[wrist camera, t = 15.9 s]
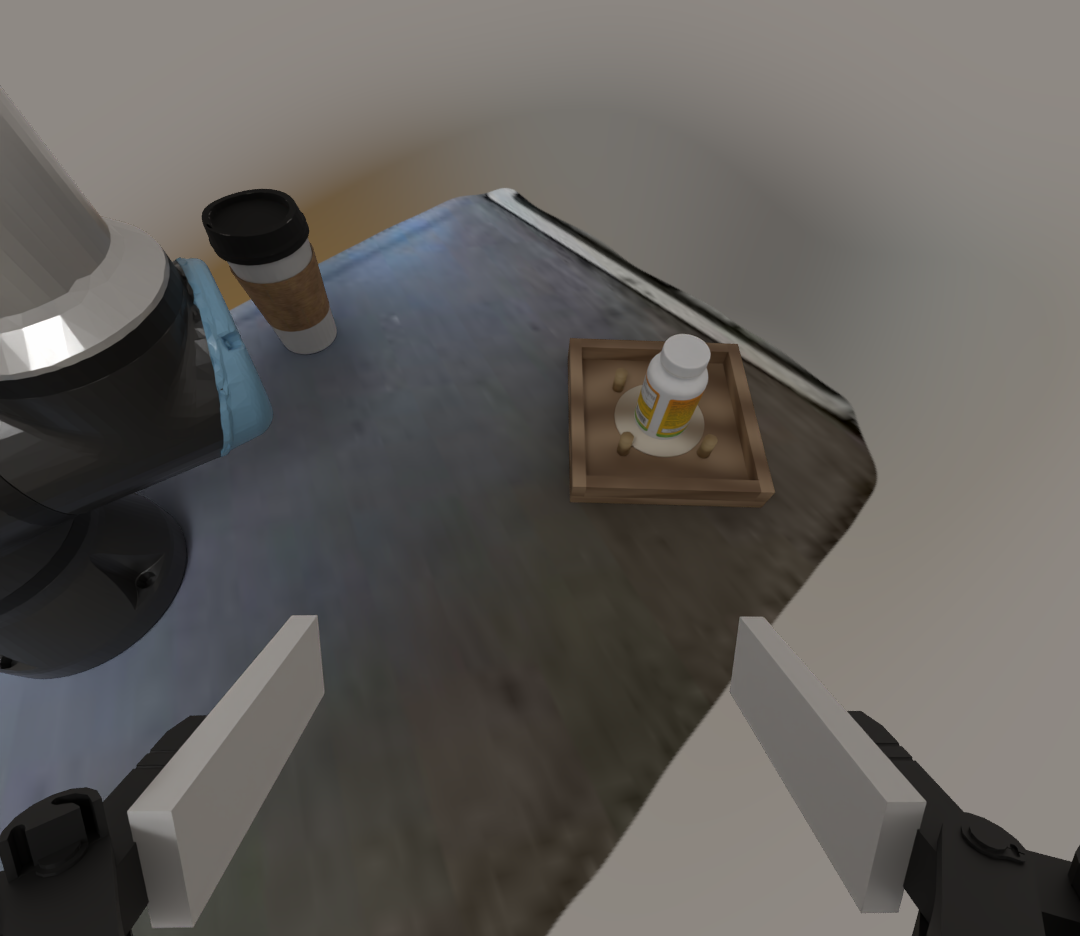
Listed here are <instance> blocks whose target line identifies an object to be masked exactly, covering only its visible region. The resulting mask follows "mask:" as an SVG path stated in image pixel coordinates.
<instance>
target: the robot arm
mask: <svg viewBox="0 0 1080 936" xmlns="http://www.w3.org/2000/svg"><path fill="white" fill-rule="evenodd" d="M272 418H273V410H272V406H271V403H270V401H269V398H268V396H267V394H266V391H265V389H264V387H263V384H262V382H261V380H260V378H259V375H258V373H257V371H256V369H255V367H254V364H253V362H252V360H251V358H250V356H249V354H248V351H247V349H246V347H245V345H244V343H243V342H242V339H241V337H240V334H239V332H238V330H237V328H236V326H235V324H234V321H233V318H232V316H231V314H230V312H229V310H228V308H227V306H226V303H225V301H224V299H223V297H222V295H221V293H220V291H219V288H218V286H217V284H216V282H215V280H214V278H213V276H212V274H211V272H210V270H209V268H208V266H207V265H206V264H205V262H203V261H202V260H200V259H196V258H190V259H185V258H178V259H176V260H175V261H173V262H172V261H171V260H170V259H169V257H168V256H167V254H166V253H165V251H164V250H163V249H162V247H161V246H160V244H159V243H158V242H157V241H155V239H154V238H153V237H151V235H149V234H148V233H147V232H146V231H144V230H142V229H140V228H138V227H136V226H134V225H131V224H128V223H125V222H122V221H118V220H114V219H110V218H106V217H103V216H100V215H99V214H98V212H97V211H96V210H95V208H94V207H93V206H92V205H91V203H90V202H89V201H88V199H87V198H86V197H85V195H84V194H83V193H82V192H81V190H80V189H79V188H78V186H77V185H76V184H75V182H74V181H73V180H72V178H71V177H70V176H69V174H68V173H67V172H66V171H65V169H64V168H63V167H62V165H61V164H60V163H59V161H58V160H57V159H56V158H55V156H54V155H53V154H52V152H51V151H50V150H49V149H48V147H47V146H46V144H45V143H44V142H43V141H42V139H41V138H40V137H39V135H38V134H37V133H36V131H35V130H34V129H33V128H32V127H31V125H30V124H29V122H28V121H27V120H26V118H25V117H24V116H23V115H22V113H21V112H20V111H19V110H18V108H17V107H16V105H15V104H14V103H13V101H12V100H11V99H10V98H9V96H8V95H7V94H6V92H5V91H4V90H3V88H2V87H1V86H0V672H1V673H6V674H11V675H16V676H21V677H27V678H34V679H52V678H60V677H65V676H70V675H74V674H77V673H80V672H83V671H86V670H89V669H91V668H94V667H96V666H98V665H100V664H102V663H104V662H106V661H108V660H110V659H112V658H113V657H115V656H117V655H118V654H120V653H121V652H123V651H124V650H126V649H127V648H128V647H130V646H131V645H132V644H134V643H135V642H136V641H137V640H139V639H140V638H141V637H142V636H143V635H144V634H145V633H146V632H147V631H148V630H149V629H150V628H151V627H152V626H153V625H154V624H155V623H156V622H157V621H158V619H159V618H160V617H161V616H162V614H163V613H164V612H165V610H166V609H167V608H168V606H169V604H170V603H171V601H172V600H173V598H174V596H175V594H176V592H177V590H178V588H179V585H180V583H181V580H182V577H183V574H184V570H185V565H186V543H185V538H184V535H183V532H182V530H181V528H180V526H179V525H178V523H177V522H176V520H175V519H174V518H173V517H172V516H171V515H170V514H169V513H167V512H166V511H165V510H163V509H162V508H160V507H159V506H158V505H156V504H155V503H153V502H152V501H150V500H149V499H147V498H145V497H143V496H140V495H138V494H136V493H135V492H137V491H139V490H142V489H144V488H147V487H149V486H151V485H154V484H156V483H158V482H161V481H163V480H166V479H168V478H170V477H173V476H175V475H177V474H180V473H182V472H185V471H187V470H189V469H192V468H194V467H197V466H199V465H201V464H204V463H206V462H208V461H211V460H213V459H216V458H218V457H223V456H225V455H227V454H228V453H229V452H230V450H232V449H234V448H236V447H238V446H240V445H242V444H244V443H246V442H248V441H250V440H252V439H253V438H255V437H257V436H259V435H261V434H263V433H264V432H265V431H266V430H267V428H268V427H269V426H270V424H271V422H272ZM324 693H325V692H324V681H323V670H322V660H321V649H320V638H319V627H318V616H317V615H292V616H291V617H290V618H289V619H288V621H287V622H286V623H285V624H284V625H283V627H282V628H281V629H280V630H279V631H278V633H277V634H276V635H275V636H274V637H273V638H272V640H271V641H270V642H269V643H268V644H267V646H266V647H265V648H264V649H263V650H262V652H261V653H260V654H259V655H258V656H257V657H256V659H255V660H254V661H253V662H252V663H251V665H250V666H249V667H248V668H247V669H246V671H245V672H244V673H243V674H242V675H241V677H240V678H239V679H238V680H237V681H236V682H235V684H234V685H233V686H232V687H231V688H230V690H229V691H228V692H227V693H226V694H225V696H224V697H223V698H222V699H221V700H220V701H219V703H218V704H217V705H216V706H215V707H214V709H213V710H212V711H211V712H210V713H209V715H208V716H189V717H188V718H186V719H185V720H183V721H182V722H180V723H179V724H177V725H176V726H175V727H173V728H172V729H170V730H169V731H167V732H166V733H165V735H164V736H163V737H162V738H161V739H160V740H159V741H158V742H157V743H156V744H155V746H154V747H153V748H152V749H151V751H150V753H149V754H146V755H145V757H144V758H143V759H142V760H141V761H140V762H139V763H138V764H137V767H136V769H133V770H132V771H131V772H130V773H129V774H128V775H127V776H126V777H125V778H124V780H123V781H122V782H121V783H120V784H119V785H118V786H117V787H116V788H115V789H114V791H113V792H112V793H111V794H110V795H109V796H108V797H107V798H106V799H105V800H104V802H102V798H101V796H100V795H99V793H98V791H97V790H93V789H90V788H87V787H86V788H76V789H69V790H66V791H63V792H60V793H57V794H54V795H51V796H49V797H47V798H45V799H43V800H41V801H39V802H37V803H36V804H34V805H32V806H31V807H29V808H28V809H26V810H25V811H24V812H22V813H21V814H19V815H18V816H17V817H15V818H14V819H13V820H12V822H11V823H10V824H9V825H8V826H7V827H6V828H5V829H4V830H3V831H2V833H1V835H0V857H1V861H2V864H3V867H4V871H1V872H0V936H133V934H132V930H131V928H132V927H133V925H134V924H135V922H136V921H137V919H138V918H139V916H140V915H141V913H142V912H143V910H144V909H145V907H146V906H147V907H148V912H149V916H150V921H151V926H152V928H178V927H194V925H195V923H196V921H197V920H198V918H199V916H200V914H201V912H202V911H203V909H204V907H205V905H206V904H207V902H208V900H209V898H210V896H211V895H212V893H213V891H214V889H215V888H216V886H217V884H218V882H219V880H220V879H221V877H222V875H223V873H224V872H225V870H226V868H227V866H228V864H229V863H230V861H231V859H232V857H233V855H234V854H235V852H236V850H237V848H238V847H239V845H240V843H241V841H242V839H243V838H244V836H245V834H246V832H247V831H248V829H249V827H250V825H251V823H252V822H253V820H254V818H255V816H256V815H257V813H258V811H259V809H260V807H261V806H262V804H263V802H264V800H265V799H266V797H267V795H268V793H269V791H270V790H271V788H272V786H273V784H274V782H275V781H276V779H277V777H278V775H279V774H280V772H281V770H282V768H283V766H284V765H285V763H286V761H287V759H288V758H289V756H290V754H291V752H292V750H293V749H294V747H295V745H296V743H297V742H298V740H299V738H300V736H301V734H302V733H303V731H304V729H305V727H306V725H307V724H308V722H309V720H310V718H311V717H312V715H313V713H314V711H315V709H316V708H317V706H318V704H319V702H320V701H321V699H322V697H323V695H324ZM730 693H731V695H732V696H733V698H734V700H735V702H736V703H737V705H738V706H739V708H740V710H741V711H742V713H743V715H744V717H745V718H746V720H747V722H748V723H749V725H750V727H751V729H752V730H753V732H754V733H755V735H756V737H757V738H758V740H759V742H760V744H761V745H762V747H763V749H764V750H765V752H766V754H767V755H768V757H769V759H770V760H771V762H772V764H773V765H774V767H775V769H776V771H777V772H778V774H779V776H780V777H781V779H782V781H783V782H784V784H785V786H786V787H787V789H788V791H789V792H790V794H791V796H792V797H793V799H794V800H795V802H796V804H797V806H798V808H799V809H800V811H801V812H802V814H803V816H804V818H805V819H806V821H807V823H808V824H809V826H810V827H811V829H812V831H813V833H814V834H815V836H816V838H817V839H818V841H819V843H820V845H821V846H822V848H823V850H824V851H825V853H826V854H827V856H828V858H829V860H830V861H831V863H832V865H833V866H834V868H835V870H836V871H837V873H838V875H839V876H840V878H841V880H842V881H843V883H844V885H845V886H846V888H847V890H848V892H849V893H850V895H851V897H852V898H853V900H854V902H855V903H856V905H857V907H858V908H859V910H860V911H861V913H892V912H898V911H899V907H900V903H901V900H902V896H903V891H904V889H905V890H906V891H907V893H908V894H909V896H910V897H911V899H912V900H913V902H914V903H915V904H916V906H917V907H918V909H919V912H918V916H917V920H916V923H915V927H914V931H913V934H912V936H1080V846H1079V847H1078V849H1077V851H1076V852H1075V855H1074V858H1073V861H1072V862H1070V861H1066V860H1062V859H1058V858H1055V857H1051V856H1047V855H1043V854H1039V853H1035V852H1032V851H1028V850H1026V849H1025V848H1024V847H1023V846H1022V845H1021V844H1020V843H1019V841H1018V840H1017V839H1015V838H1014V837H1013V836H1012V835H1010V834H1009V833H1008V832H1006V831H1005V830H1004V829H1003V828H1001V827H999V826H998V825H996V824H994V823H992V822H990V821H989V820H987V819H985V818H982V817H979V816H976V815H973V814H971V813H966V812H963V811H962V810H961V809H960V808H959V806H957V804H956V803H955V802H954V801H953V800H952V799H951V798H950V797H949V796H948V795H947V794H946V793H945V792H944V791H943V790H942V788H940V786H939V785H938V784H937V783H936V782H935V781H934V780H933V779H932V778H931V777H930V776H929V775H928V774H927V772H926V771H925V770H924V769H923V768H922V767H921V766H920V765H919V764H918V763H917V762H916V761H913V760H912V756H911V755H910V754H908V752H907V751H906V750H905V749H904V748H903V747H902V746H899V743H898V742H897V741H896V739H895V738H893V736H892V735H891V734H890V733H889V732H888V731H887V730H886V729H885V728H884V727H883V726H882V725H881V724H879V723H878V722H876V721H875V720H873V719H872V718H870V717H869V716H867V715H866V714H864V713H863V712H862V711H846V710H845V709H844V708H843V706H842V705H841V704H840V703H839V702H838V701H837V700H836V698H835V697H834V696H833V695H832V694H831V693H830V692H829V690H828V689H827V688H826V687H825V686H824V685H823V684H822V683H821V682H820V680H819V679H818V678H817V677H816V676H815V675H814V673H813V672H812V671H811V670H810V669H809V668H808V667H807V666H806V664H805V663H804V662H803V661H802V660H801V659H800V658H799V656H798V655H797V654H796V653H795V652H794V651H793V650H792V649H791V647H790V646H789V645H788V644H787V643H786V642H785V641H784V639H783V638H782V637H781V636H780V635H779V634H778V633H777V632H776V630H775V629H774V628H773V627H772V626H771V625H770V624H769V622H768V621H767V620H766V619H765V618H764V617H740V619H739V627H738V634H737V642H736V649H735V657H734V664H733V672H732V679H731V687H730Z"/></svg>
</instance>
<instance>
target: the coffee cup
mask: <svg viewBox="0 0 1080 936" xmlns="http://www.w3.org/2000/svg"><path fill="white" fill-rule="evenodd" d="M202 222H203V225H204V227H205V229H206V232H207V234H208V237H209V241H210V244H211V246H212V247H213V249H214V251H215V252H216V254H217V255H218V256H219V257H220V258H222V259H223V260H225V261H227V262H228V264H229V265H230V269H231V272H232V273H233V275H234V276H235V277H236V279H237V280H238V281H239V283H240V284H241V286H242V287H243V288H244V290H245V291H246V293H247V294H248V295H249V297H250V298H251V299H252V301H253V302H254V304H255V305H256V306H257V308H258V309H259V310H260V312H261V313H262V315H263V316H264V317H265V319H266V320H267V321H268V323H269V324H270V325H271V327H272V328H273V329H274V331H275V332H276V334H277V335H278V337H279V338H280V340H281V341H282V343H283V344H284V345H285V346H286V348H287V349H289V350H290V351H292V352H294V353H298V354H312V353H316V352H319V351H321V350H323V349H325V348H327V347H328V346H329V345H330V344H331V343H332V342H333V341H334V339H335V337H336V334H337V329H336V325H335V322H334V318H333V315H332V312H331V309H330V306H329V301H328V298H327V294H326V291H325V287H324V284H323V280H322V277H321V273H320V270H319V267H318V263H317V260H316V256H315V253H314V249H313V247H312V245H311V243H310V242H309V240H308V234H309V227H308V224H307V222H306V219H305V216H304V215H303V213H302V212H301V211H300V210H299V208H298V206H297V205H296V203H295V201H294V200H293V199H292V198H291V197H290V196H289V195H287V194H286V193H284V192H281V191H277V190H272V189H254V190H247V191H242V192H238V193H235V194H231V195H228V196H225V197H223V198H221V199H218V200H216V201H214V202H212V203H211V204H209V205H208V206H207V207H206V208H205V209H204V211H203V212H202Z"/></svg>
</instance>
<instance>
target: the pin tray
mask: <svg viewBox="0 0 1080 936" xmlns="http://www.w3.org/2000/svg"><path fill="white" fill-rule="evenodd" d="M664 343H665V342H664V341H635V340H606V339H577V338H570V343H569V352H568V403H569V469H570V502H584V503H618V504H653V505H688V506H723V507H757V508H761V507H762V506H763V505H764V504H765V503H766V502H767V501H768V500H769V499H770V498H771V496H772V495H773V494H774V493H775V491H774V487H773V483H772V479H771V475H770V471H769V467H768V463H767V459H766V455H765V451H764V447H763V443H762V439H761V435H760V431H759V427H758V423H757V419H756V415H755V411H754V407H753V403H752V399H751V395H750V391H749V387H748V383H747V379H746V375H745V371H744V367H743V363H742V359H741V355H740V351H739V347H738V344H722V343H706V344H707V346H708V347H709V349H710V353H711V356H710V360H709V362H708V365H707V367H706V368H707V371H708V383H707V385H706V388H705V390H704V392H703V395H702V397H701V399H700V401H699V403H698V405H697V407H696V409H695V411H694V413H693V415H692V417H691V419H690V422H689V424H688V426H687V427H686V429H685V431H684V432H683V433H682V434H681V435H679V436H678V437H676V438H673V439H668V440H661V439H655V438H652V437H650V436H648V435H646V434H645V433H643V432H642V431H641V430H640V429H639V427H638V426H637V424H636V422H635V418H634V412H635V407H636V404H637V401H638V398H639V394H640V391H641V388H642V385H643V382H644V379H645V375H646V372H647V369H648V366H649V364H650V362H651V360H652V359H653V358H654V357H655V356H656V355H657V354H659V353H660V352H661V351H662V349H663V346H664Z"/></svg>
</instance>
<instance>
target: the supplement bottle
mask: <svg viewBox="0 0 1080 936" xmlns="http://www.w3.org/2000/svg"><path fill="white" fill-rule="evenodd" d="M710 356H711V353H710V349H709V347H708V346H707V344H706V343H705V342H704V341H702V340H701V339H700V338H698V337H695V336H692V335H688V334H678V335H674V336H672V337H670V338H669V339H667V341H666V342H665V343H664V346H663V349H662V351H661V352H660V353H659V354H657V355H656V356H655V357H654V358H653V359H652V360H651V362H650V364H649V366H648V369H647V372H646V375H645V379H644V382H643V385H642V388H641V391H640V394H639V398H638V401H637V404H636V407H635V412H634V418H635V422H636V424H637V426H638V427H639V429H640V430H641V431H642V432H643V433H645V434H646V435H648V436H650V437H652V438H655V439H661V440H668V439H673V438H676V437H678V436H679V435H681V434H682V433H683V432H684V431H685V429H686V427H687V426H688V424H689V422H690V419H691V417H692V415H693V413H694V411H695V409H696V407H697V405H698V403H699V401H700V399H701V397H702V395H703V392H704V390H705V388H706V385H707V383H708V371H707V368H706V367H707V365H708V362H709V360H710Z"/></svg>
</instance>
